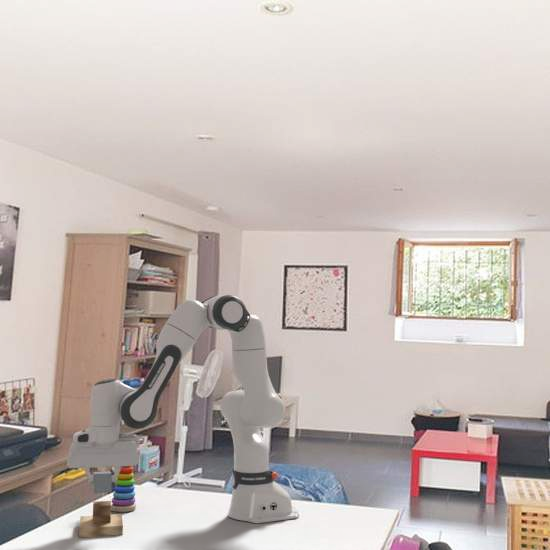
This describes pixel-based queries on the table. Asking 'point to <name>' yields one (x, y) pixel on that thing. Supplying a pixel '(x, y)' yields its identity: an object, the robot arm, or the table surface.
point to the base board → (100, 526)
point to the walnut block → (101, 512)
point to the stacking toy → (124, 491)
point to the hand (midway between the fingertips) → (102, 482)
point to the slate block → (102, 482)
